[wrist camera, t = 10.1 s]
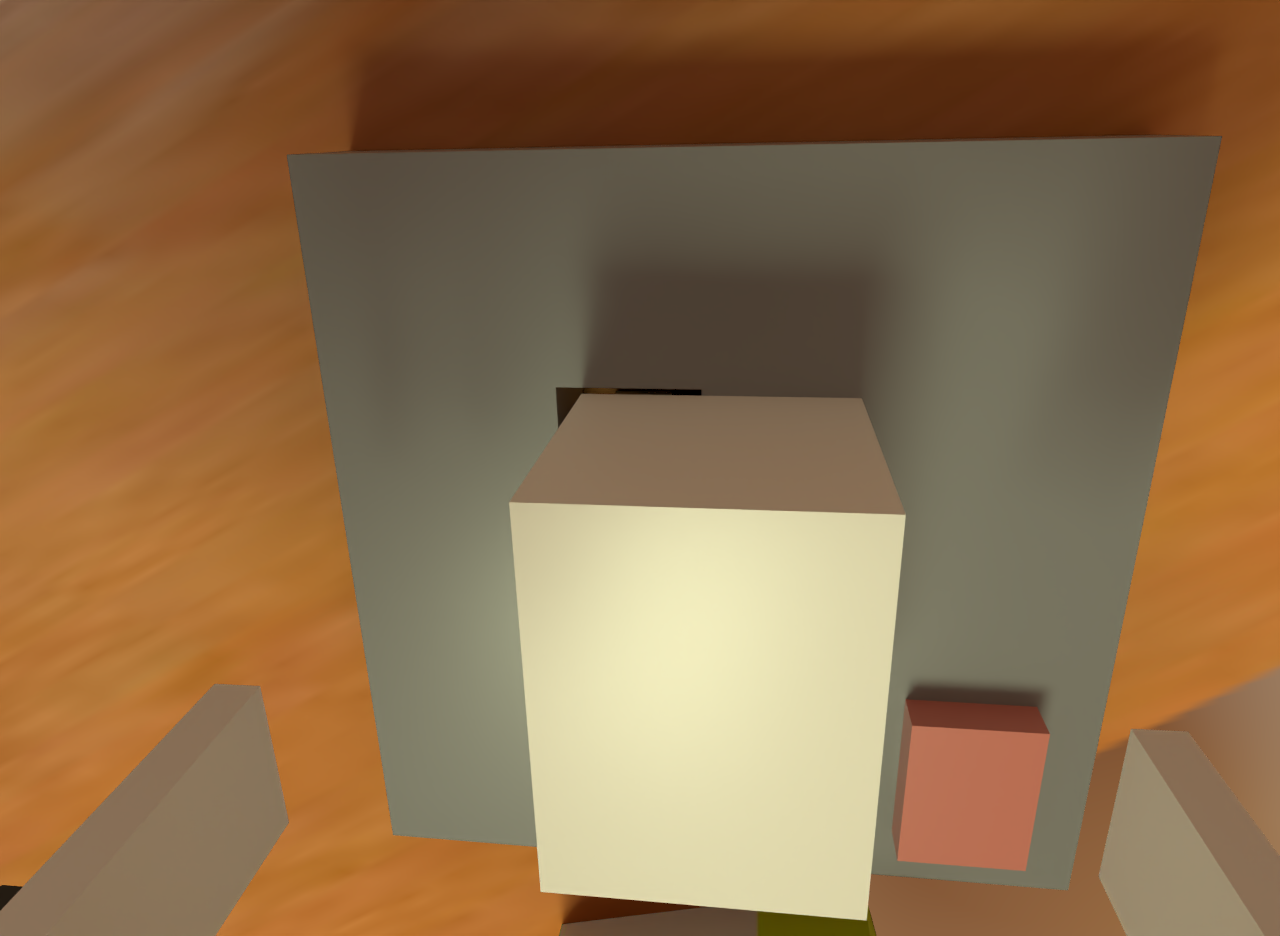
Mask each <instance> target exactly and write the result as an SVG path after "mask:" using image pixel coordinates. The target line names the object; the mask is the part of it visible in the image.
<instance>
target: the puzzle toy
mask: <svg viewBox="0 0 1280 936" xmlns="http://www.w3.org/2000/svg"><path fill="white" fill-rule="evenodd" d="M559 936H876V932H875V929H874V925H873V921H872V917H871V914H870V910H869V906H868V911H867V921H866V920H855V919H843V918H832V917H821V916H809V915H798V914H787V913H775V912H764V911H753V910H741V909H730V908H719V907H701V908H693V909H685V910H676V911H668V912H660V913H651V914H643V915H635V916H626V917H618V918H610V919H601V920H593V921H585V922H576V923H568V924H562V926H561V930H560V934H559Z"/></svg>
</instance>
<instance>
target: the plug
mask: <svg viewBox="0 0 1280 936" xmlns="http://www.w3.org/2000/svg"><path fill="white" fill-rule="evenodd" d="M509 508H510V520H511V532H512V544H513V557H514V569H515V581H516V593H517V606H518V618H519V630H520V643H521V655H522V667H523V679H524V692H525V704H526V716H527V728H528V741H529V753H530V765H531V778H532V790H533V802H534V814H535V827H536V839H537V851H538V863H539V876H540V888H541V892H549V893H560V894H572V895H583V896H594V897H606V898H617V899H628V900H640V901H651V902H662V903H673V904H685V905H696V906H707V907H719V908H730V909H741V910H753V911H764V912H775V913H787V914H798V915H809V916H821V917H832V918H843V919H855V920H866V921H867V911H868V900H869V889H870V880H871V869H872V859H873V849H874V838H875V828H876V818H877V807H878V797H879V787H880V776H881V766H882V756H883V745H884V735H885V725H886V714H887V704H888V694H889V683H890V673H891V663H892V652H893V642H894V632H895V621H896V611H897V601H898V590H899V580H900V570H901V559H902V549H903V538H904V528H905V518H906V514H905V511H904V509H903V506H902V503H901V501H900V498H899V496H898V493H897V490H896V488H895V485H894V482H893V480H892V477H891V474H890V472H889V469H888V466H887V464H886V461H885V458H884V456H883V453H882V450H881V448H880V445H879V443H878V440H877V437H876V435H875V432H874V429H873V427H872V424H871V421H870V419H869V416H868V413H867V411H866V408H865V405H864V403H863V400H862V398H822V397H758V396H694V395H672V392H650V391H616V393H615V394H581V395H580V397H579V398H578V400H577V401H576V403H575V404H574V406H573V407H572V409H571V410H570V412H569V413H568V415H567V416H566V418H565V419H564V421H563V422H562V424H561V425H560V427H559V428H558V430H557V431H556V433H555V434H554V436H553V437H552V439H551V440H550V442H549V443H548V445H547V446H546V448H545V449H544V451H543V452H542V454H541V455H540V457H539V458H538V460H537V461H536V463H535V464H534V466H533V467H532V469H531V470H530V472H529V473H528V475H527V476H526V478H525V479H524V481H523V482H522V484H521V485H520V487H519V488H518V490H517V491H516V493H515V494H514V496H513V497H512V499H511V500H510V502H509Z"/></svg>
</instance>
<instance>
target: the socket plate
mask: <svg viewBox="0 0 1280 936" xmlns="http://www.w3.org/2000/svg"><path fill="white" fill-rule="evenodd" d="M1221 139H1222V136H1189V135H1117V136H1068V137H1019V138H969V139H920V140H871V141H821V142H772V143H723V144H673V145H624V146H574V147H525V148H476V149H426V150H377V151H342V152H325V153H308V154H291V155H287V160H288V166H289V173H290V179H291V186H292V192H293V198H294V205H295V211H296V217H297V224H298V230H299V237H300V243H301V249H302V256H303V262H304V268H305V275H306V281H307V288H308V294H309V300H310V307H311V313H312V320H313V326H314V332H315V339H316V345H317V351H318V358H319V364H320V371H321V377H322V383H323V390H324V396H325V403H326V409H327V415H328V422H329V428H330V434H331V441H332V447H333V454H334V460H335V466H336V473H337V479H338V485H339V492H340V498H341V505H342V511H343V517H344V524H345V530H346V537H347V543H348V549H349V556H350V562H351V568H352V575H353V581H354V588H355V594H356V600H357V607H358V613H359V620H360V626H361V632H362V639H363V645H364V651H365V658H366V664H367V671H368V677H369V683H370V690H371V696H372V702H373V709H374V715H375V722H376V728H377V734H378V741H379V747H380V754H381V760H382V766H383V773H384V779H385V785H386V792H387V798H388V805H389V811H390V817H391V824H392V830H393V835H400V836H412V837H424V838H436V839H448V840H461V841H473V842H485V843H497V844H510V845H522V846H534V847H537V839H536V827H535V814H534V802H533V790H532V778H531V765H530V753H529V741H528V728H527V716H526V704H525V692H524V679H523V667H522V655H521V643H520V630H519V618H518V606H517V593H516V581H515V569H514V557H513V544H512V532H511V520H510V508H509V502H510V500H511V499H512V497H513V496H514V494H515V493H516V491H517V490H518V488H519V487H520V485H521V484H522V482H523V481H524V479H525V478H526V476H527V475H528V473H529V472H530V470H531V469H532V467H533V466H534V464H535V463H536V461H537V460H538V458H539V457H540V455H541V454H542V452H543V451H544V449H545V448H546V446H547V445H548V443H549V442H550V440H551V439H552V437H553V436H554V434H555V433H556V431H557V430H558V428H559V427H560V425H561V424H562V422H563V421H564V419H565V418H566V416H567V415H568V413H569V412H570V410H571V409H572V407H573V406H574V404H575V403H576V401H577V400H578V398H579V397H580V395H581V394H583V388H635V389H702V396H758V397H822V398H862V400H863V403H864V405H865V408H866V411H867V413H868V416H869V419H870V421H871V424H872V427H873V429H874V432H875V435H876V437H877V440H878V443H879V445H880V448H881V450H882V453H883V456H884V458H885V461H886V464H887V466H888V469H889V472H890V474H891V477H892V480H893V482H894V485H895V488H896V490H897V493H898V496H899V498H900V501H901V503H902V506H903V509H904V511H905V514H906V518H905V528H904V538H903V549H902V559H901V570H900V580H899V590H898V601H897V611H896V621H895V632H894V642H893V652H892V663H891V673H890V683H889V694H888V704H887V714H886V725H885V735H884V745H883V756H882V766H881V776H880V787H879V797H878V807H877V818H876V828H875V838H874V849H873V859H872V869H871V874H877V875H889V876H900V877H913V878H926V879H937V880H950V881H962V882H974V883H987V884H998V885H1010V886H1023V887H1036V888H1047V889H1060V890H1068V888H1069V883H1070V878H1071V873H1072V868H1073V863H1074V858H1075V853H1076V848H1077V844H1078V839H1079V834H1080V828H1081V824H1082V819H1083V814H1084V809H1085V805H1086V800H1087V794H1088V790H1089V785H1090V780H1091V775H1092V770H1093V765H1094V760H1095V756H1096V751H1097V746H1098V741H1099V736H1100V731H1101V726H1102V721H1103V716H1104V712H1105V707H1106V702H1107V697H1108V692H1109V687H1110V682H1111V677H1112V672H1113V667H1114V663H1115V658H1116V653H1117V648H1118V643H1119V638H1120V633H1121V628H1122V623H1123V619H1124V614H1125V609H1126V604H1127V599H1128V594H1129V589H1130V584H1131V579H1132V574H1133V570H1134V565H1135V560H1136V555H1137V550H1138V545H1139V540H1140V535H1141V530H1142V525H1143V521H1144V516H1145V511H1146V506H1147V501H1148V496H1149V491H1150V486H1151V481H1152V477H1153V472H1154V467H1155V462H1156V457H1157V452H1158V447H1159V442H1160V437H1161V432H1162V428H1163V423H1164V418H1165V413H1166V408H1167V403H1168V398H1169V393H1170V388H1171V384H1172V379H1173V374H1174V369H1175V364H1176V359H1177V354H1178V349H1179V344H1180V339H1181V335H1182V330H1183V325H1184V320H1185V315H1186V310H1187V305H1188V300H1189V295H1190V291H1191V286H1192V281H1193V276H1194V271H1195V266H1196V261H1197V256H1198V251H1199V246H1200V242H1201V237H1202V232H1203V227H1204V222H1205V217H1206V212H1207V207H1208V202H1209V198H1210V193H1211V188H1212V183H1213V178H1214V173H1215V168H1216V163H1217V158H1218V153H1219V149H1220V144H1221Z"/></svg>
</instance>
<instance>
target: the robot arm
mask: <svg viewBox="0 0 1280 936" xmlns="http://www.w3.org/2000/svg"><path fill="white" fill-rule="evenodd" d="M288 823H289V821H288V816H287V811H286V807H285V802H284V797H283V792H282V788H281V783H280V778H279V774H278V769H277V764H276V759H275V755H274V750H273V745H272V740H271V736H270V731H269V726H268V721H267V717H266V712H265V707H264V703H263V698H262V693H261V688H260V686H246V685H226V684H214V685H213V686H212V687H211V688H210V689H209V690H208V692H207V693H206V694H205V695H204V696H203V697H202V698H201V699H200V700H199V701H198V702H197V703H196V704H195V705H194V706H193V707H192V708H191V710H190V711H189V712H188V713H187V714H186V715H185V716H184V717H183V718H182V719H181V720H180V721H179V722H178V723H177V724H176V725H175V726H174V728H173V729H172V730H171V731H170V732H169V733H168V734H167V735H166V736H165V737H164V738H163V739H162V740H161V741H160V742H159V743H158V744H157V746H156V747H155V748H154V749H153V750H152V751H151V752H150V753H149V754H148V755H147V756H146V757H145V758H144V759H143V760H142V761H141V762H140V763H139V765H138V766H137V767H136V768H135V769H134V770H133V771H132V772H131V773H130V774H129V775H128V776H127V777H126V778H125V779H124V780H123V781H122V783H121V784H120V785H119V786H118V787H117V788H116V789H115V790H114V791H113V792H112V793H111V794H110V795H109V796H108V797H107V798H106V799H105V801H104V802H103V803H102V804H101V805H100V806H99V807H98V808H97V809H96V810H95V811H94V812H93V813H92V814H91V815H90V816H89V817H88V819H87V820H86V821H85V822H84V823H83V824H82V825H81V826H80V827H79V828H78V829H77V830H76V831H75V832H74V833H73V834H72V835H71V837H70V838H69V839H68V840H67V841H66V842H65V843H64V844H63V845H62V846H61V847H60V848H59V849H58V850H57V851H56V852H55V853H54V855H53V856H52V857H51V858H50V859H49V860H48V861H47V862H46V863H45V864H44V865H43V866H42V867H41V868H40V869H39V870H38V871H37V873H36V874H35V875H34V876H33V877H32V878H31V879H30V880H29V881H28V882H27V883H26V884H25V885H24V886H23V887H20V886H7V885H2V886H0V936H215V935H216V934H217V932H218V931H219V929H220V928H221V926H222V925H223V923H224V921H225V920H226V918H227V917H228V915H229V914H230V912H231V911H232V909H233V908H234V906H235V905H236V903H237V901H238V900H239V898H240V897H241V895H242V894H243V892H244V891H245V889H246V888H247V886H248V885H249V883H250V881H251V880H252V878H253V877H254V875H255V874H256V872H257V871H258V869H259V868H260V866H261V865H262V863H263V861H264V860H265V858H266V857H267V855H268V854H269V852H270V851H271V849H272V848H273V846H274V845H275V843H276V842H277V840H278V838H279V837H280V835H281V834H282V832H283V831H284V829H285V828H286V826H287V825H288ZM1099 878H1100V880H1101V882H1102V884H1103V887H1104V888H1105V891H1106V893H1107V895H1108V897H1109V899H1110V901H1111V903H1112V905H1113V908H1114V910H1115V912H1116V914H1117V916H1118V918H1119V920H1120V922H1121V924H1122V927H1123V928H1124V931H1125V933H1126V935H1127V936H1280V856H1279V854H1278V853H1277V852H1276V850H1275V849H1274V848H1273V846H1272V845H1271V844H1270V842H1269V841H1268V839H1267V838H1266V837H1265V835H1264V834H1263V833H1262V831H1261V830H1260V829H1259V828H1258V826H1257V825H1256V823H1255V822H1254V820H1253V819H1252V818H1251V817H1250V815H1249V814H1248V812H1247V811H1246V810H1245V808H1244V807H1243V806H1242V804H1241V803H1240V802H1239V800H1238V799H1237V798H1236V796H1235V795H1234V793H1233V792H1232V791H1231V789H1230V788H1229V787H1228V785H1227V784H1226V783H1225V781H1224V780H1223V778H1222V777H1221V776H1220V774H1219V773H1218V772H1217V770H1216V769H1215V767H1214V766H1213V765H1212V763H1211V762H1210V761H1209V759H1208V758H1207V757H1206V755H1205V754H1204V753H1203V751H1202V750H1201V748H1200V747H1199V746H1198V745H1197V743H1196V742H1195V740H1194V739H1193V738H1192V736H1191V735H1190V734H1189V732H1184V731H1183V732H1182V731H1164V730H1144V729H1131V732H1130V736H1129V741H1128V746H1127V750H1126V755H1125V759H1124V764H1123V768H1122V773H1121V778H1120V782H1119V786H1118V791H1117V795H1116V800H1115V805H1114V809H1113V814H1112V818H1111V823H1110V827H1109V832H1108V837H1107V841H1106V845H1105V850H1104V855H1103V859H1102V864H1101V868H1100V873H1099Z"/></svg>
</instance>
